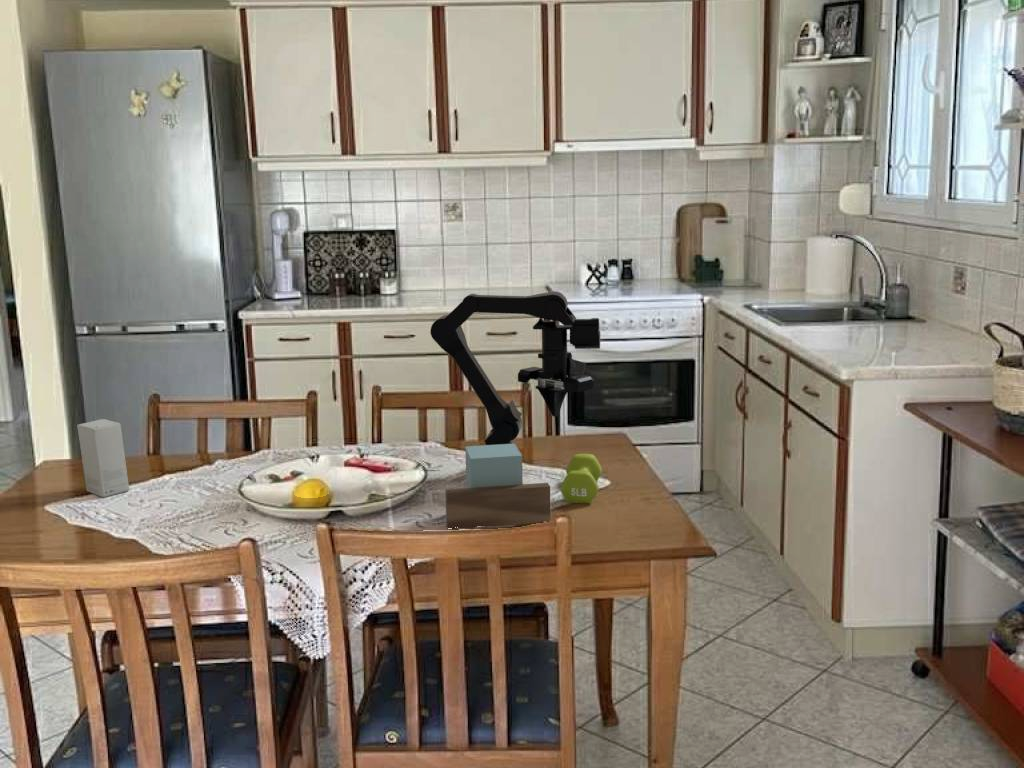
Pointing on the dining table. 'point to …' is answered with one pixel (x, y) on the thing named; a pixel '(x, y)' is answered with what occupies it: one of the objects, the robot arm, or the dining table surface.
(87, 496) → the dining table surface
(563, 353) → the robot arm
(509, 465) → the block
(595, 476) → the dumbbell
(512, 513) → the board
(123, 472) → the skincare box
